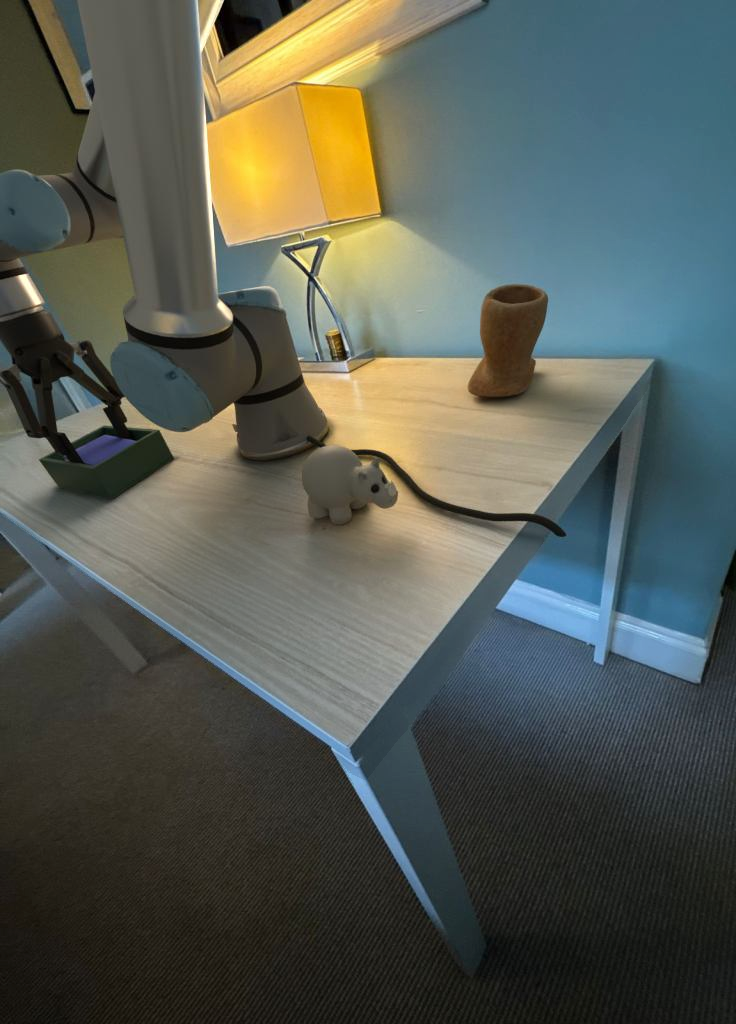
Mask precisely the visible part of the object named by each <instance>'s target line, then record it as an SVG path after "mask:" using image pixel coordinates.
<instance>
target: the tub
mask: <svg viewBox="0 0 736 1024" xmlns="http://www.w3.org/2000/svg"><path fill="white" fill-rule="evenodd" d="M126 427H127V429H128V430H129V432H130V434H131V436H132V437H133V439H134V441H136V442H134V443H133V444H131V445H129V446H127V447H126V448H124V449H122V450H121V451H119V452H117V453H115V454H114V455H112V456H110V457H109V458H107V459H105V460H103V461H102V462H100V463H98V464H97V465H95V466H92V465H86V464H80V463H74V462H68V461H65V459H64V456H62V455H59V454H57V453H56V452H55V450H54V451H52V452H50V453H48V454H47V455H45V456H42V457H41V458H39V459H38V461H39V463H41V465H42V467H44V469H45V471H46V472H47V473H48V475H49V476H50V477H51V479H52V480H53V482H54V483H55V484H56V486H57V488H61V489H65V490H69V491H73V492H78V493H82V494H86V495H91V496H95V497H100V498H103V499H104V498H105V499H108V500H114V499H115V498H117V497H119V496H120V495H121V494H123V493H124V492H126V491H128V490H129V489H130V488H133V487H134V486H135V485H136V484H138V483H140V482H141V481H142V480H144V479H146V478H147V477H149V476H150V475H152V474H154V473H155V472H156V471H158V470H159V469H161V468H162V467H164V466H166V465H167V464H169V463H170V462H171V461H173V460H175V457H174V456H173V453H172V452H171V450H170V448H169V446H168V444H167V442H166V440H165V438H164V436H163V434H162V432H161V431H160V429H154V428H144V427H143V428H141V427H129V426H126ZM103 435H109V436H114V437H119V436H118V434H117V433H116V431H115V429H114V428H113V426H112V425H102V426H100V427H98V428H96V429H94V430H92V431H91V432H88V433H87V434H84V435H83V436H80V437H79V438H77V439H75V440H73V441H70V442H71V444H72V445H73V447H74V448H75V450H76V449H78V448H80V447H82V446H84V445H86V444H87V443H89V442H91V441H93V440H95V439H97V438H99V437H101V436H103Z"/></svg>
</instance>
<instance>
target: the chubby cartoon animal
mask: <svg viewBox="0 0 736 1024" xmlns="http://www.w3.org/2000/svg"><path fill="white" fill-rule="evenodd" d="M351 450H352V449H349V448H348V447H345V446H342V445H338V444H337V445H336V444H328V445H326V446H324V447H321V448H320V447H318V448H317V449H315V450H314V451H313V452H311V453H310V455H309V456H308V457H307V458H306V459H305V461H304V463H303V465H302V470H301V483H302V488H303V490H304V491H305V494H306V495H307V496H308V497H307V511H308V514H309V516H310V517H311V518H313V519H316V520H318V519H323V518H325V517H327V516H329V519H330V521H331V522H332V523H333V524H335V525H344V524H347V523H348V522H350V521H351V520H352V516H353V512H352V510H360V509H362V508H364V507H365V506H366V505H367V504H374V505H375V506H377V507H378V508H381V509H390V508H393V507H394V506H395V505H396V504H397V502H398V497H399V491H398V489H397V487H396V485H395V483H394V482H393V480H390V481H389V479H388V477H387V476H386V474H385V473H384V471H383V470H382V469H381V467H380V458H379V457H376V456H375V458H373V460H372V461H371V463H369V464H363V463H362V460H361V459H360V458H359V455H356V454H355V453H354V452H352V451H351Z"/></svg>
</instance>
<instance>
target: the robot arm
mask: <svg viewBox="0 0 736 1024" xmlns="http://www.w3.org/2000/svg"><path fill="white" fill-rule="evenodd" d="M224 1H225V0H77V5H78V9H79V10H78V11H79V16H80V20H81V25H82V26H81V27H82V31H83V36H84V41H85V46H86V51H87V56H88V61H89V67H90V72H91V78H92V82H93V88H94V95H93V98H92V102H91V106H90V108H89V113H88V116H87V119H86V123H85V126H84V129H83V133H82V138H81V141H80V145H79V147H78V148H79V149H78V152H77V155H76V158H75V161H74V165H73V168H72V171H71V172H68V173H57V174H45V175H35V174H34V173H31V172H29V171H28V170H24V169H10V170H6V171H4V172H0V342H1V344H2V346H3V347H4V348H5V350H6V351H7V353H9V355H10V357H11V362H12V363H11V365H9V366H8V367H6V368H4V369H2V370H0V384H2V385H3V387H4V388H5V389H6V392H7V393H8V397H9V398H10V400H11V403H12V405H13V407H14V409H15V411H16V414H17V416H18V418H19V421H20V423H21V425H22V427H23V429H24V431H25V434H26V436H27V437H28V438H31V439H43V438H44V439H46V440H47V442H48V443H49V445H50V446H51V447H52V449H53V450H54V451H55V452H56V453H57V454H59V455H62V456H65V455H66V457H67V458H68V460H69V461H70V462H74V463H80V464H85V463H84V462H83V460H82V459H81V457H80V456H79V454H78V453H77V451H76V450H75V448H74V447H73V445H72V444H71V442H72V441H71V440H70V439H69V437H68V436H67V434H66V433H65V432H63V431H62V432H60V431H58V425H57V419H56V418H57V417H56V411H55V406H54V398H53V388H54V387H53V383H55V382H58V381H59V380H60V379H61V378H67V377H68V378H70V379H72V380H73V381H75V382H76V383H77V384H78V385H79V386H81V387H82V388H83V389H84V390H86V391H87V392H89V393H90V394H91V395H92V396H94V397H95V398H96V399H98V400H99V401H100V402H101V403H103V404H104V405H105V407H103V408H102V411H103V413H104V414H105V416H106V417H107V419H108V421H109V423H110V425H111V426H113V428H114V429H115V431H116V433H117V434H118V436H119V438H124V439H129V440H134V439H133V437H132V436H131V434H130V432H129V430H128V429H127V427H128V426H127V425H126V423H128V418H127V416H126V414H125V413H124V411H123V409H122V407H121V405H122V399H123V398H125V399H126V400H127V401H128V403H130V405H131V406H132V407H133V408H135V410H136V411H137V412H138V413H140V414H141V415H142V416H143V417H144V418H146V419H147V420H148V421H149V422H151V423H152V424H154V425H156V426H158V427H160V428H162V429H164V430H167V431H170V432H173V433H174V432H175V433H186V432H191V431H193V430H194V429H196V428H198V427H200V426H202V425H204V424H207V423H209V422H211V420H213V419H214V417H215V416H217V415H218V414H220V413H222V412H223V411H224V410H226V409H227V408H228V407H231V405H233V406H234V413H235V424H234V423H231V425H232V428H233V430H234V432H235V433H236V443H237V445H238V446H237V447H238V448H239V452H240V453H241V455H242V456H243V457H245V458H246V459H249V460H254V461H272V460H273V461H274V460H278V459H283V458H287V457H291V456H294V455H296V454H297V455H298V454H299V453H302V452H304V451H306V450H308V449H310V448H312V447H314V446H315V447H318V448H321V447H324V446H327V445H326V443H324V442H322V441H321V440H323V439H324V438H325V437H326V435H327V434H328V432H329V429H330V427H329V422H328V419H327V418H328V417H327V416H326V414H325V412H324V411H323V409H322V408H321V407H319V405H318V403H317V401H316V400H315V397H313V394H312V393H311V391H310V390H309V388H308V386H307V384H306V382H305V379H304V375H303V372H302V367H301V364H300V360H299V357H298V353H297V350H296V346H295V343H294V339H293V337H292V332H291V329H290V326H289V323H288V318H287V312H286V309H284V306H283V303H282V301H281V297H280V295H279V293H278V291H277V290H276V289H275V288H273V287H272V286H268V285H262V286H257V287H250V288H244V289H239V290H232V291H226V292H218V290H219V289H218V288H219V287H218V275H217V261H216V259H217V258H216V246H215V245H216V244H215V232H214V218H213V204H212V203H213V202H212V189H211V176H210V175H211V174H210V160H209V159H210V158H209V144H208V129H207V117H206V116H207V113H206V100H205V88H204V87H205V86H204V75H203V74H204V71H203V57H202V56H203V55H202V54H203V53H202V52H203V50H204V48H205V47H206V46H205V45H206V43H207V41H208V38H209V36H210V34H211V32H212V29H213V27H214V24H215V22H216V20H217V17H218V16H219V13H220V11H221V8H222V6H223V3H224ZM120 238H123V241H124V242H123V243H124V248H125V252H126V257H127V262H128V267H129V272H130V278H131V282H132V288H133V296H131V297H130V299H129V300H128V301H127V302H126V303H125V304H124V305H123V307H122V316H123V321H124V325H125V330H126V335H127V341H121V342H119V343H118V344H117V346H116V347H115V348H114V350H113V351H112V352H111V353H110V357H109V366H110V370H109V369H108V368H107V367H106V365H105V364H104V363H103V362H102V360H101V359H100V357H98V356H97V354H96V351H95V349H94V346H93V344H92V342H91V341H90V340H77V342H74V343H71V342H70V341H68V339H66V337H65V335H64V333H63V331H62V329H61V327H60V326H59V324H58V322H57V321H56V319H55V317H54V315H53V314H52V312H51V311H50V310H48V308H46V309H45V308H44V307H43V306H44V305H45V303H46V302H45V300H44V298H43V297H42V295H41V293H40V292H39V290H38V288H37V286H36V284H35V283H34V281H33V279H32V278H31V276H30V275H29V272H28V271H27V269H26V268H25V266H24V264H23V262H22V260H21V258H25V257H29V256H33V255H36V254H42V253H46V252H51V251H56V250H61V249H66V248H71V247H75V246H79V245H85V244H89V243H94V242H100V241H105V240H106V241H107V240H110V239H120ZM75 354H76V355H77V356H78V357H79V358H81V360H82V361H83V363H84V364H85V365H86V366H87V367H88V369H89V370H90V371H91V372H92V374H93V375H94V376H95V377H96V378H97V380H98V381H99V382H97V381H96V380H94V378H92V377H91V376H89V375H88V374H87V373H86V372H85V370H84V369H82V367H80V365H78V364H76V363H75V361H74V359H75ZM110 371H111V372H110ZM20 373H22V374H24V375H26V376H28V377H30V380H31V387H32V390H33V391H34V396H35V402H36V409H37V415H36V413H35V411H34V408H33V406H32V403H31V402H30V399H29V397H28V395H27V393H26V390H25V387H24V385H23V384H22V383H21V381H22V377H21V375H20ZM100 383H101V384H100ZM37 416H38V418H37ZM350 450H351V451H352V452H354V453H355V454H356V455H357V456H372V457H375V458H376V457H378V458H379V459H381V460H383V461H385V463H387V464H388V465H389V466H390V468H392V470H394V472H395V473H396V474H397V475H398V476H399V477H400V478H402V480H403V481H404V482H405V483H406V484H407V486H408V487H409V488H410V489H411V490H412V491H413V493H414V494H415V495H417V496H418V498H420V499H422V500H423V501H425V502H426V503H428V504H430V505H431V506H434V507H436V508H438V509H441V510H443V511H447V512H450V513H453V514H457V515H461V516H465V517H469V518H474V519H478V520H483V521H488V522H527V523H533V524H536V525H540V526H542V527H544V528H546V529H548V530H549V531H550V532H552V533H553V534H554V535H555V536H556V537H558V538H564V537H566V536H567V533H566V531H565V530H564V529H562V528H561V526H560V525H558V524H557V523H556V522H554V521H553V520H551V519H550V518H547V517H545V516H543V515H539V514H536V513H529V512H509V513H507V512H506V513H498V512H497V513H496V512H487V511H482V510H477V509H473V508H468V507H464V506H460V505H456V504H452V503H449V502H446V501H444V500H442V499H439V498H436V497H434V496H432V495H431V494H429V493H427V492H426V491H424V490H423V489H422V488H421V487H420V486H419V485H418V483H416V482H415V481H414V480H413V478H412V477H411V475H409V473H407V472H406V471H405V470H404V469H403V468H402V467H401V466H400V465H399V464H398V463H397V462H396V461H395V460H394V459H393V458H392V457H391V456H389V454H387V453H384V452H382V451H379V450H376V449H369V448H368V449H367V448H362V449H361V448H359V449H350Z"/></svg>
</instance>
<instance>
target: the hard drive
mask: <svg viewBox="0 0 736 1024" xmlns="http://www.w3.org/2000/svg"><path fill="white" fill-rule="evenodd" d="M134 442H136V441H134V440H129V439H124V438H119V437H114V436H109V435H103V436H101V437H99V438H97V439H95V440H93V441H91V442H89V443H87V444H86V445H84V446H82V447H80V448H78V449H76V451H77V453H78V454H79V456H80V457H81V459H82V460H83V462H84V463H85V464H86V465H92V466H95V465H97V464H98V463H100V462H102V461H103V460H105V459H107V458H109V457H110V456H112V455H114V454H115V453H117V452H119V451H121V450H122V449H124V448H126V447H127V446H129V445H131V444H133V443H134ZM64 459H65V461H68V462H70V461H69V460H68V458H67V457H66V455H65V456H64Z"/></svg>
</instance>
